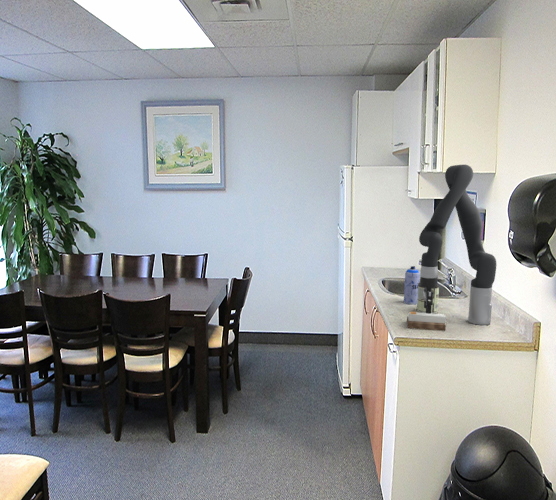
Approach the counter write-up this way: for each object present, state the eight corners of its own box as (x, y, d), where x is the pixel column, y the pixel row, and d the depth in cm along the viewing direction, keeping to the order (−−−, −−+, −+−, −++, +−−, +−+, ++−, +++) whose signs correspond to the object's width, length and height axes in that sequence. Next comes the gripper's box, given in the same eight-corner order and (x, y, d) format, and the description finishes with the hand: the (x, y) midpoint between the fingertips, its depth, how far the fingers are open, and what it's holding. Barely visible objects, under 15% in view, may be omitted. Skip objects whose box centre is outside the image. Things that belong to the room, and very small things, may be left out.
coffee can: (416, 307, 251) (417, 281, 249) (437, 309, 248) (438, 282, 246) (416, 312, 241) (418, 285, 239) (438, 314, 238) (439, 286, 236)
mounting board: (442, 324, 223) (442, 318, 223) (445, 330, 214) (445, 325, 213) (406, 321, 226) (407, 316, 226) (408, 328, 217) (408, 322, 216)
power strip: (444, 325, 220) (444, 313, 219) (445, 327, 216) (445, 315, 215) (407, 322, 223) (408, 310, 222) (408, 325, 219) (409, 313, 219)
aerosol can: (409, 305, 255) (411, 268, 252) (400, 301, 262) (402, 265, 259) (421, 303, 258) (423, 267, 255) (411, 300, 266) (413, 264, 262)
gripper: (439, 279, 209) (438, 315, 211) (435, 272, 222) (434, 306, 225) (421, 278, 210) (420, 314, 213) (418, 272, 224) (417, 306, 226)
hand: (427, 310), depth 219 cm, fingers open, 8 cm apart
